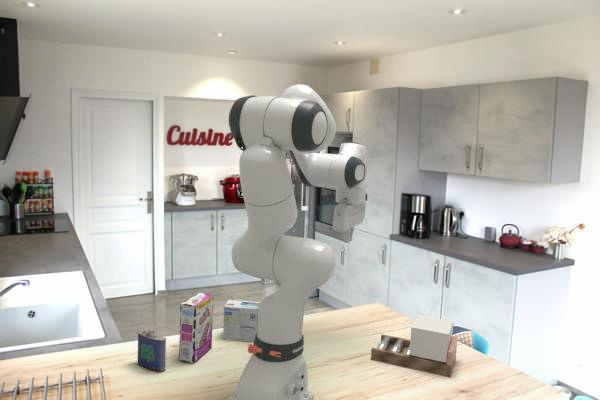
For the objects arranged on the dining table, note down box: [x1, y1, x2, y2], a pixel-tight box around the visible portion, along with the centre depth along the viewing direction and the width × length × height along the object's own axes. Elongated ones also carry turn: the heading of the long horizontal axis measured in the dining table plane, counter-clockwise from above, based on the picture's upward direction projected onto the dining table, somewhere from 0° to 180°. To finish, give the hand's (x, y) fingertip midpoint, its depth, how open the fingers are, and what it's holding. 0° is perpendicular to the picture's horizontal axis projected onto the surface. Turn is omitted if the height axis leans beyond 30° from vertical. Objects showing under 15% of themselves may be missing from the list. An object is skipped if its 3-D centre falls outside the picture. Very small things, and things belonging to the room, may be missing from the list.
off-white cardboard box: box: [409, 314, 455, 363], centre depth 141 cm, size 10×11×8 cm
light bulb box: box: [222, 299, 261, 343], centre depth 154 cm, size 11×7×11 cm, turn 84°
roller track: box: [370, 334, 459, 378], centre depth 144 cm, size 22×12×7 cm, turn 66°
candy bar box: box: [178, 292, 214, 365], centre depth 140 cm, size 11×5×16 cm, turn 164°
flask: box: [137, 328, 167, 373], centre depth 132 cm, size 9×3×11 cm, turn 61°
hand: (347, 241), depth 153 cm, fingers closed
